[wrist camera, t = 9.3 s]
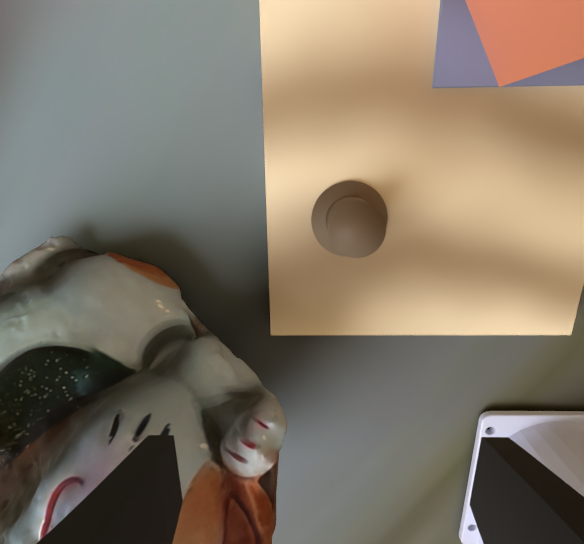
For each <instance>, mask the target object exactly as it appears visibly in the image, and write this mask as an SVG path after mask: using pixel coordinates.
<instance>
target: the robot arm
mask: <svg viewBox="0 0 584 544" xmlns="http://www.w3.org/2000/svg"><path fill="white" fill-rule="evenodd" d="M488 427H491V428H489V429H487V428H488ZM486 429H487V430H486ZM182 503H183V499H182V491H181V484H180V477H179V469H178V462H177V455H176V448H175V440H174V435H148V436H147V437H146V438H145V439H144V440H143V441H142V442H141V443H140V444H139V445H138V446H137V447H136V448H135V449H134V450H133V451H132V452H131V453H130V454H129V455H128V456H127V457H126V458H125V459H124V460H123V461H122V462H121V463H120V464H119V465H118V466H117V467H116V468H115V469H114V470H113V471H112V472H111V473H110V474H109V475H108V476H107V477H106V478H105V479H104V480H103V481H102V482H101V483H100V484H99V485H98V486H97V487H96V488H95V489H94V490H93V491H92V492H91V493H90V494H88V495H87V496H86V497H85V498H84V499H83V500H82V501H81V502H80V503H79V504H78V505H77V506H76V507H75V508H74V509H73V510H72V511H71V512H70V513H69V514H68V515H67V516H66V517H65V518H64V519H63V520H62V521H60V522H59V523H58V524H57V525H56V526H55V527H54V528H53V529H52V530H51V531H50V532H49V533H47V534H46V535H45V536H44V537H43V538H42V539H41V540H40V541H39V542H37V543H36V544H172V543H173V539H174V535H175V531H176V527H177V523H178V519H179V515H180V511H181V507H182ZM459 537H460V540H461V542H462V543H463V544H584V411H486V412H484V413H482V414H481V415H480V418H479V422H478V428H477V433H476V439H475V445H474V451H473V456H472V462H471V468H470V474H469V479H468V485H467V491H466V497H465V502H464V508H463V514H462V520H461V525H460V531H459Z"/></svg>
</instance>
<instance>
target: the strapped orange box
mask: <svg viewBox="0 0 584 544" xmlns="http://www.w3.org/2000/svg"><path fill="white" fill-rule="evenodd" d="M465 1H466V3H467V6H468V8H469V11H470V13H471V16H472V19H473V21H474V24H475V26H476V29H477V31H478V34H479V36H480V39H481V42H482V44H483V47H484V49H485V52H486V54H487V57H488V59H489V62H490V65H491V67H492V70H493V72H494V75H495V77H496V80H497V82H498V85H499V87H501V86H504V85H507V84H510V83H513V82H516V81H519V80H522V79H525V78H527V77H530V76H533V75H536V74H539V73H542V72H545V71H548V70H551V69H553V68H556V67H559V66H562V65H565V64H568V63H571V62H574V61H577V60H579V59H582V58H584V0H465Z"/></svg>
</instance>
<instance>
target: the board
mask: <svg viewBox="0 0 584 544" xmlns="http://www.w3.org/2000/svg"><path fill="white" fill-rule="evenodd" d="M259 1H260V31H261V60H262V90H263V120H264V149H265V179H266V208H267V238H268V267H269V297H270V326H271V335H571V333H572V329H573V325H574V321H575V317H576V312H577V308H578V304H579V300H580V296H581V292H582V288H583V284H584V58H582V59H579V60H577V61H574V62H571V63H568V64H565V65H562V66H559V67H556V68H553V69H551V70H548V71H545V72H542V73H539V74H536V75H533V76H530V77H527V78H525V79H522V80H519V81H516V82H513V83H510V84H507V85H504V86H501V87H499V85H498V82H497V80H496V77H495V75H494V72H493V70H492V67H491V65H490V62H489V59H488V57H487V54H486V52H485V49H484V47H483V44H482V42H481V39H480V36H479V34H478V31H477V29H476V26H475V24H474V21H473V19H472V16H471V13H470V11H469V8H468V6H467V3H466V1H465V0H259Z"/></svg>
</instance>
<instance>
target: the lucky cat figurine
mask: <svg viewBox="0 0 584 544" xmlns="http://www.w3.org/2000/svg"><path fill="white" fill-rule="evenodd" d="M286 428H287V422H286V419H285V414H284V412H283V409H282V407H281V405H280V404H279V401H278V399H277V398H276V397H275V396H274V394H272V393H271V392H270V391H269V390H267V389H266V388H264V386H263V385H262V383H261V381H260V380H259V378H258V376H257V375H256V374H255V373H254V372H253V371H252V370H251V369H250V368H249V367H248V366H247V365H246V364H245V362H243V361H242V360H241V359H240V358H236V357H235V356H234V355H233V354H232V353H231V351H230V349H229V348H228V347H226V346H225V345H224V344H223V343H222V342H220V341H219V338H218V337H216V336H215V335H214V334H213V333H212V332H210V331H209V330H208V329H207V328H206V327H205V326H204V325H203V324H202V323H201V322H200V321H199V320H198V318H197V317H196V316H195V315H194V314H193V313H192V312H191V311H190V310H189V308H188V307H187V306H186V304H185V303H184V301H183V300H182V299H181V293H180V289H179V287H178V285H177V284H176V283H175V282H174V281H173V280H172V279H171V278H170V277H169V276H168V275H167V274H166V273H165V272H164V271H162V270H161V269H160V268H158V267H157V266H155V265H151V264H148V263H145V262H141V261H138V260H135V259H131V258H127V257H125V256H122V255H119V254H116V253H113V252H107V253H106V254H104V255H100V254H97V253H94V252H91V251H88V250H85V249H83V248H80V247H78V245H77V244H76V243H75V242H74V241H73V239H72V238H71V237H64V236H62V237H50V238H49V239H48V240H47V241H46V242H45V243H43V244H42V245H41V246H39V247H37V248H35V249H34V250H32V251H30V252H28V253H27V254H25V255H23V256H22V257H20V258H19V259H17V260H15V261H14V262H12V263H11V264H10V265H9V266H8V267H7V268H6V269H5V270H4V272H3V273H2V275H1V277H0V544H36V543H37V542H39V541H40V540H41V539H42V538H43V537H44V536H45V535H46V534H47V533H49V532H50V531H51V530H52V529H53V528H54V527H55V526H56V525H57V524H58V523H59V522H60V521H62V520H63V519H64V518H65V517H66V516H67V515H68V514H69V513H70V512H71V511H72V510H73V509H74V508H75V507H76V506H77V505H78V504H79V503H80V502H81V501H82V500H83V499H84V498H85V497H86V496H87V495H88V494H90V493H91V492H92V491H93V490H94V489H95V488H96V487H97V486H98V485H99V484H100V483H101V482H102V481H103V480H104V479H105V478H106V477H107V476H108V475H109V474H110V473H111V472H112V471H113V470H114V469H115V468H116V467H117V466H118V465H119V464H120V463H121V462H122V461H123V460H124V459H125V458H126V457H127V456H128V455H129V454H130V453H131V452H132V451H133V450H134V449H135V448H136V447H137V446H138V445H139V444H140V443H141V442H142V441H143V440H144V439H145V438H146V437H147V436H148V435H174V440H175V448H176V455H177V462H178V469H179V477H180V484H181V491H182V499H183V503H182V507H181V511H180V515H179V519H178V523H177V527H176V531H175V535H174V539H173V543H172V544H272V535H273V532H274V530H275V526H276V487H277V474H278V460H279V451H280V449H281V447H282V444H283V439H284V435H285V433H286Z"/></svg>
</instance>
